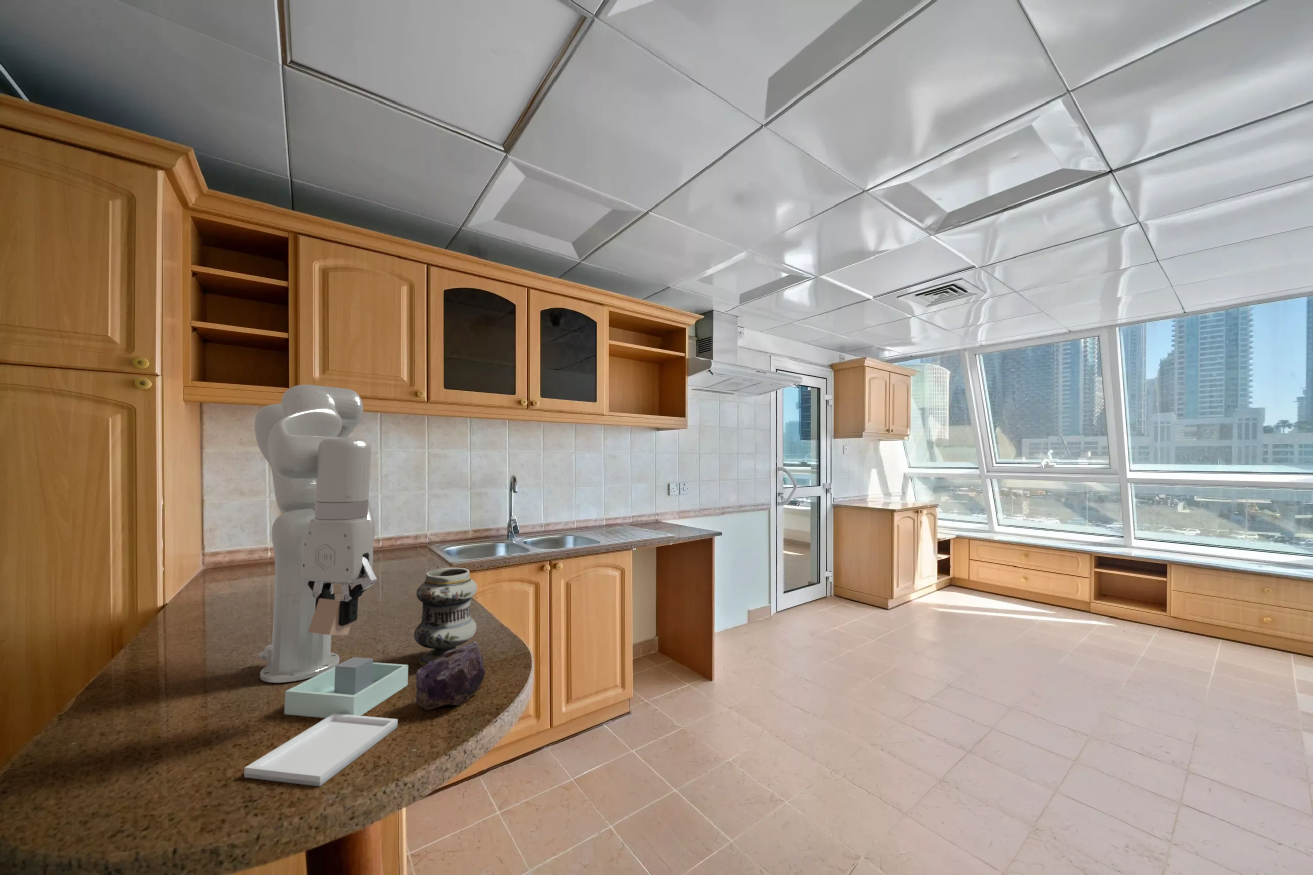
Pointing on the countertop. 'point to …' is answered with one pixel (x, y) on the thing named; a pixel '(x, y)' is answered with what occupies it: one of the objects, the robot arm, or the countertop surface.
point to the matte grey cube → (353, 675)
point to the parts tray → (321, 750)
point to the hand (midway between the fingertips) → (336, 620)
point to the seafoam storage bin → (323, 702)
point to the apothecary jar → (445, 611)
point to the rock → (450, 677)
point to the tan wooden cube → (328, 619)
